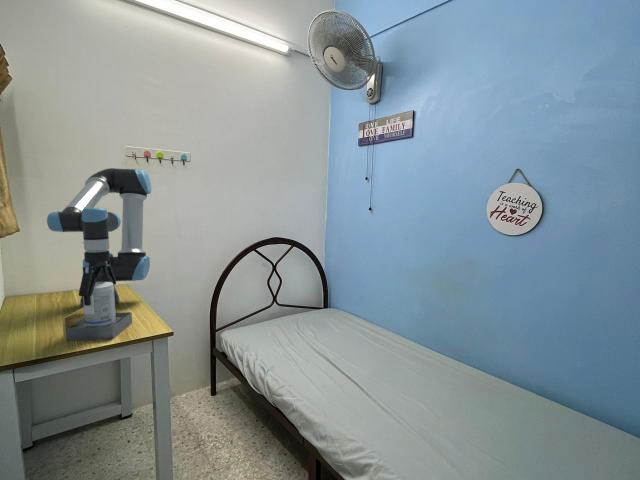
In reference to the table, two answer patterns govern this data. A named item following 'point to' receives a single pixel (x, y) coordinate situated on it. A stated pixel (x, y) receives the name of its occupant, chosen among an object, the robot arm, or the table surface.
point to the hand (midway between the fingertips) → (100, 307)
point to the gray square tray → (93, 327)
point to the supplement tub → (102, 305)
